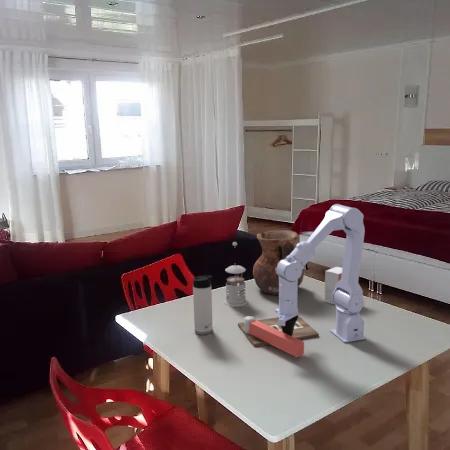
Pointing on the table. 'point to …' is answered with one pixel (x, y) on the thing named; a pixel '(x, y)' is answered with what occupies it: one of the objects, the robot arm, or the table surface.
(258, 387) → the table surface
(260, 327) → the swing arm
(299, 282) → the jug
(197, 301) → the travel mug
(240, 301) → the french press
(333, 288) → the small box
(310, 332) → the label board
